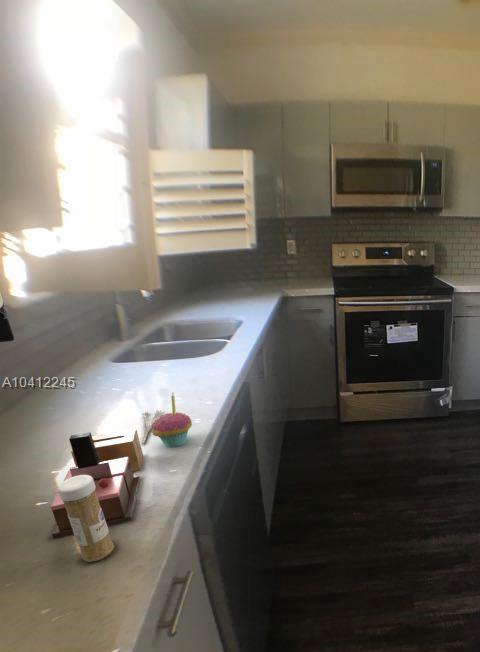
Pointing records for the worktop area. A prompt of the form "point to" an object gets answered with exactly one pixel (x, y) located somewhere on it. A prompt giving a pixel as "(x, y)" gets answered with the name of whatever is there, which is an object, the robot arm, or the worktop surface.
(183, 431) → the cupcake
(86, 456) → the knife
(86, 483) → the sprinkles bottle
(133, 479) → the pink double-door cabinet
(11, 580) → the worktop surface
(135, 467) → the knife block
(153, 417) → the tweezers
